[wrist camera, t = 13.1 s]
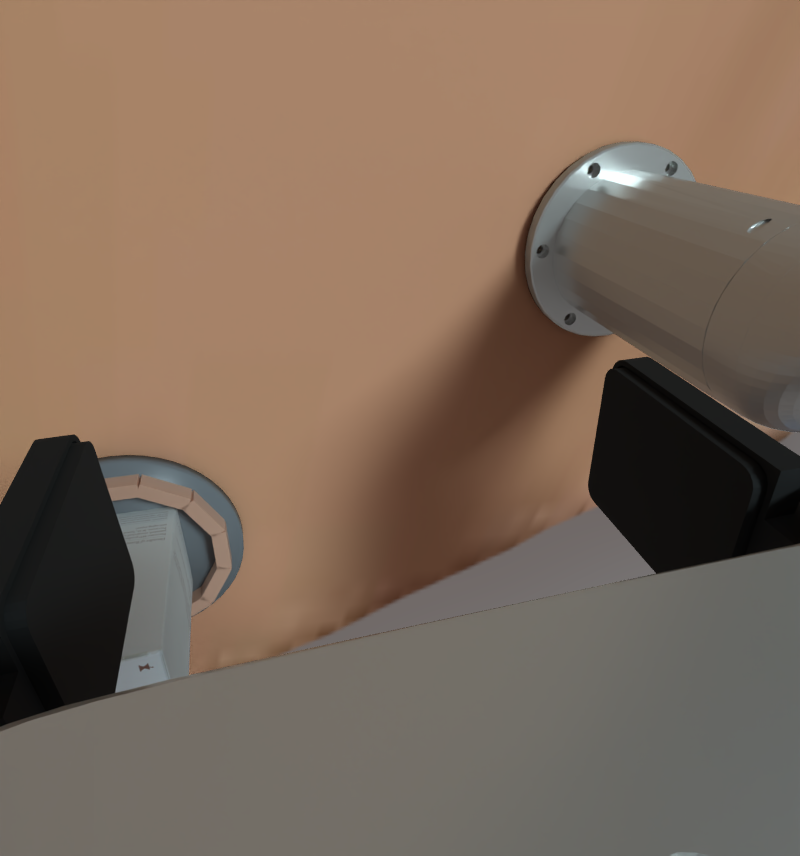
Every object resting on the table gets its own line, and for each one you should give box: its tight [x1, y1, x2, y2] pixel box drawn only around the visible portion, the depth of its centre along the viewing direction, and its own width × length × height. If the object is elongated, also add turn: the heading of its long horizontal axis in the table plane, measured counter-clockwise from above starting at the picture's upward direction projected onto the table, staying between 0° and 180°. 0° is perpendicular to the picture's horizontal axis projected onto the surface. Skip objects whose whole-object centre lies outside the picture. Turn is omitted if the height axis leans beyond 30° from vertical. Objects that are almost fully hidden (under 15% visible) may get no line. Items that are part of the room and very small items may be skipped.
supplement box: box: [115, 507, 193, 693], centre depth 37 cm, size 7×7×13 cm
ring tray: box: [98, 455, 244, 617], centre depth 42 cm, size 15×15×2 cm
